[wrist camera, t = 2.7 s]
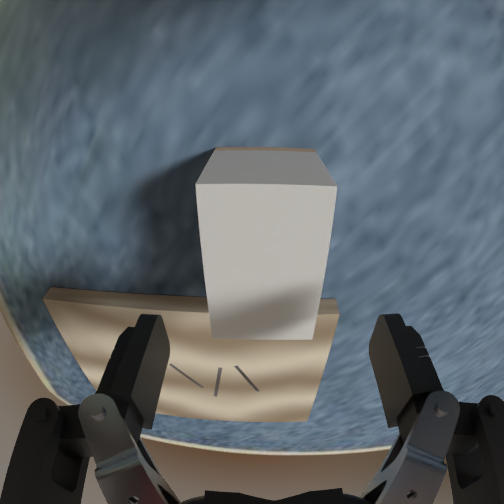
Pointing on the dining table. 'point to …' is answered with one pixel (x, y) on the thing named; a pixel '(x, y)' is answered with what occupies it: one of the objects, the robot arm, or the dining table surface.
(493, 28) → the dining table surface
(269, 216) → the block
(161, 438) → the dining table surface
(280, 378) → the birch board
